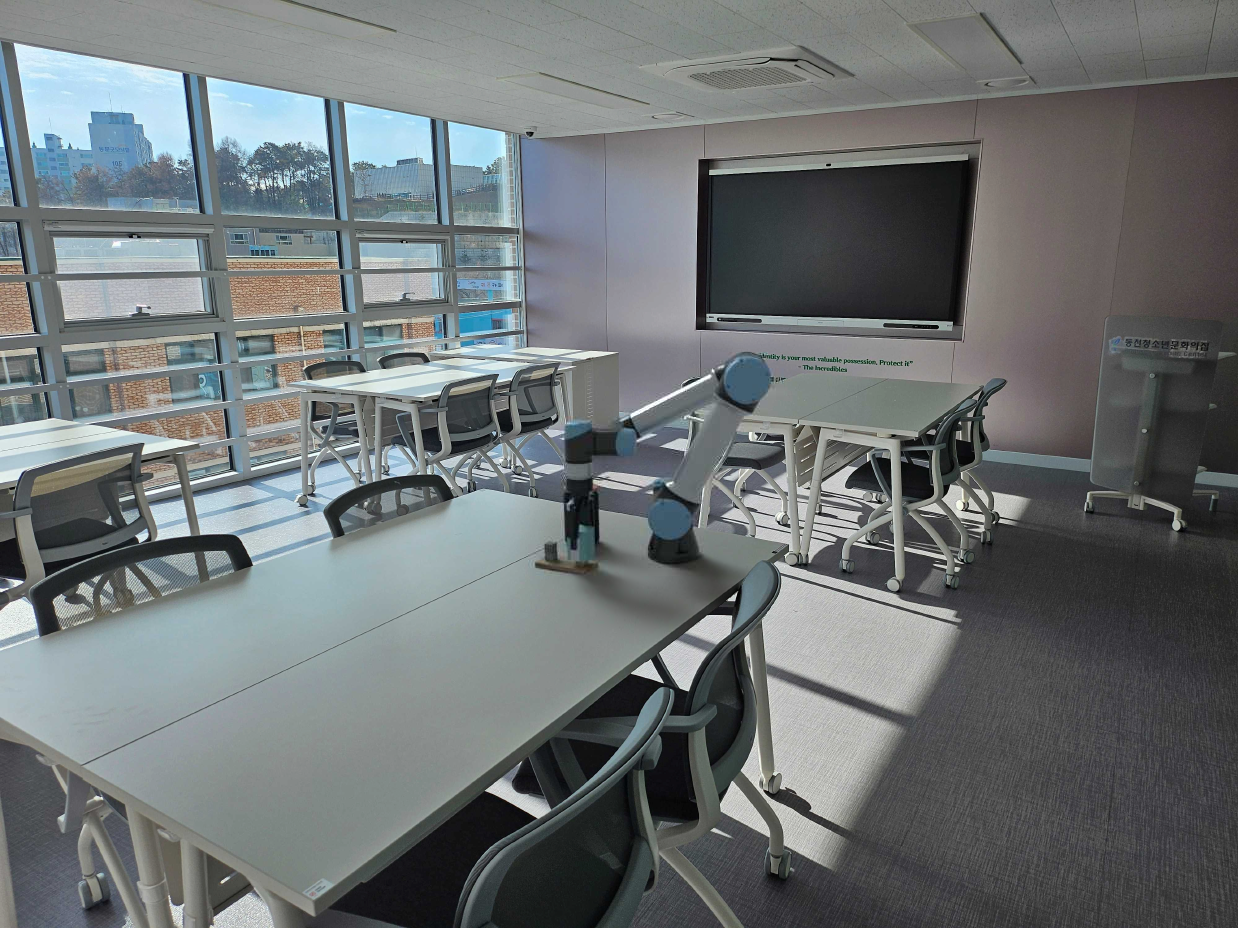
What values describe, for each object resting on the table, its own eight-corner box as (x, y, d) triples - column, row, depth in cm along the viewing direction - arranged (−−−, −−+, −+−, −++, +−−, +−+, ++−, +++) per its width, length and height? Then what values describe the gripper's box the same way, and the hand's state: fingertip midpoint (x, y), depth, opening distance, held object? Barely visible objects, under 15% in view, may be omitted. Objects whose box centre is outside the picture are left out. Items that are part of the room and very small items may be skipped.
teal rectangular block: (577, 553, 237) (576, 524, 235) (594, 555, 235) (594, 526, 233) (567, 559, 232) (566, 529, 230) (585, 562, 230) (584, 532, 228)
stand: (549, 557, 243) (548, 524, 241) (597, 565, 236) (597, 531, 234) (535, 566, 237) (533, 532, 234) (584, 574, 229) (583, 539, 227)
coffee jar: (559, 540, 259) (557, 484, 255) (591, 535, 263) (590, 480, 259) (572, 550, 250) (570, 492, 246) (605, 545, 254) (603, 488, 250)
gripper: (583, 468, 238) (585, 545, 243) (549, 482, 222) (552, 565, 227) (607, 470, 235) (608, 548, 240) (574, 485, 218) (576, 569, 224)
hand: (581, 556), depth 233 cm, fingers closed on teal rectangular block, 6 cm apart
